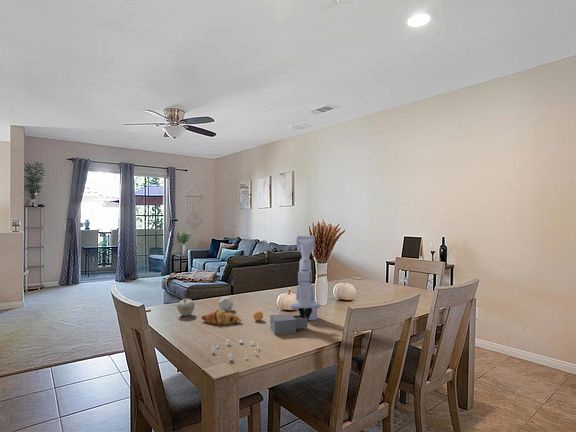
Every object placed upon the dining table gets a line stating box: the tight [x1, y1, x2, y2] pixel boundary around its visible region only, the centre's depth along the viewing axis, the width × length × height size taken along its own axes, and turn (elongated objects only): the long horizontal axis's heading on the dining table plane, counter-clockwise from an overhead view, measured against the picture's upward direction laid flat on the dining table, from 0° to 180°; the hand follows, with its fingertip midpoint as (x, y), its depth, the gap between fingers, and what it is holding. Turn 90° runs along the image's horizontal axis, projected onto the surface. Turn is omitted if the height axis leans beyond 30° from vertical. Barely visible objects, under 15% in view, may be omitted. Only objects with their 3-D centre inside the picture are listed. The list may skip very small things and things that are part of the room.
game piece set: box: [210, 337, 260, 362], centre depth 140 cm, size 19×20×4 cm
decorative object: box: [177, 297, 195, 317], centre depth 189 cm, size 9×9×10 cm
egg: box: [253, 310, 264, 322], centre depth 181 cm, size 5×5×5 cm
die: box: [217, 296, 235, 312], centre depth 199 cm, size 8×9×10 cm
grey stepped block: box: [269, 313, 309, 336], centre depth 166 cm, size 16×10×6 cm, turn 104°
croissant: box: [201, 309, 242, 326], centre depth 178 cm, size 21×10×8 cm, turn 83°
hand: (304, 323), depth 168 cm, fingers closed on grey stepped block
